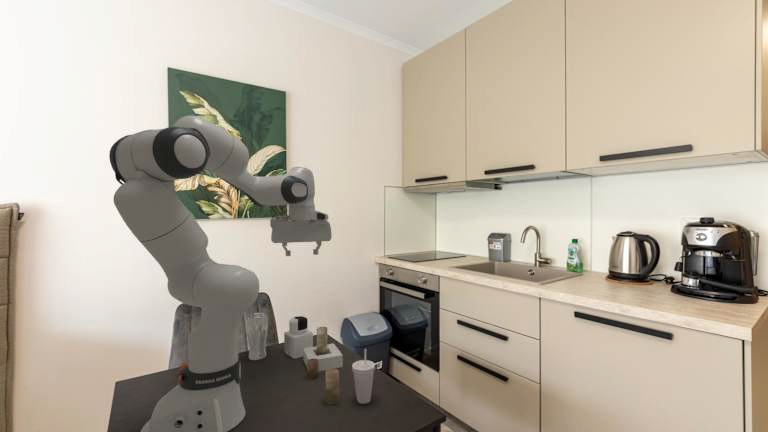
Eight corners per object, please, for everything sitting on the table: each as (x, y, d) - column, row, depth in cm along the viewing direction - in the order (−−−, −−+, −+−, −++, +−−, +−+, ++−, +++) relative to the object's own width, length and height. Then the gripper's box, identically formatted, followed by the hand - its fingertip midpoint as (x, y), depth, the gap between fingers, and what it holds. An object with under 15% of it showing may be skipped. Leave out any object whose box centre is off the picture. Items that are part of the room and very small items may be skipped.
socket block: (309, 373, 107) (309, 361, 107) (303, 359, 117) (303, 348, 117) (342, 366, 112) (342, 354, 112) (333, 354, 122) (333, 343, 122)
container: (302, 347, 128) (302, 313, 128) (313, 353, 123) (313, 318, 123) (284, 353, 123) (283, 317, 123) (294, 359, 117) (293, 322, 117)
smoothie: (372, 407, 88) (371, 354, 88) (349, 405, 89) (348, 353, 89) (377, 394, 94) (377, 345, 94) (355, 392, 95) (355, 343, 95)
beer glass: (255, 362, 115) (254, 319, 115) (243, 358, 119) (242, 316, 119) (271, 355, 121) (271, 314, 121) (259, 351, 125) (259, 311, 125)
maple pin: (318, 366, 112) (317, 330, 112) (315, 362, 115) (315, 327, 115) (328, 364, 113) (328, 329, 113) (326, 360, 117) (325, 326, 117)
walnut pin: (308, 380, 103) (308, 364, 103) (305, 375, 106) (305, 359, 106) (319, 378, 104) (319, 362, 104) (317, 373, 107) (317, 357, 107)
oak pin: (327, 406, 89) (327, 376, 89) (324, 399, 92) (324, 370, 92) (340, 403, 90) (340, 373, 90) (336, 396, 94) (336, 368, 94)
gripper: (271, 215, 108) (271, 258, 108) (332, 215, 116) (333, 254, 117) (269, 215, 114) (269, 255, 114) (328, 215, 122) (328, 252, 122)
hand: (302, 255), depth 115 cm, fingers open, 8 cm apart
